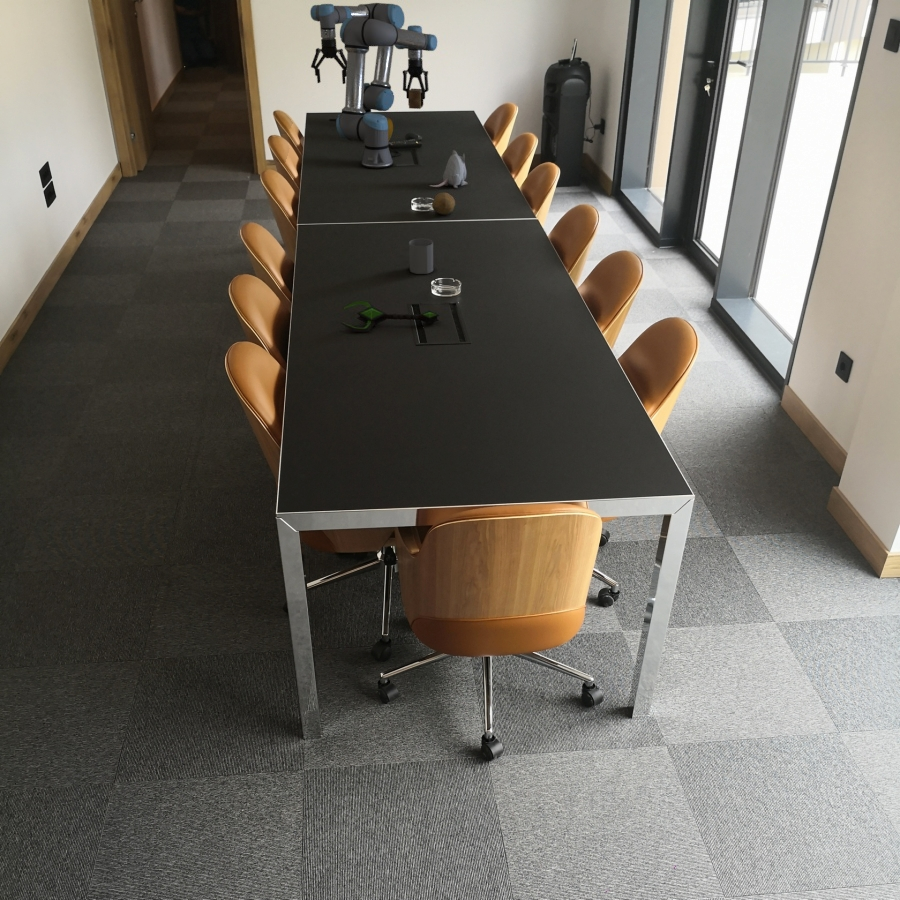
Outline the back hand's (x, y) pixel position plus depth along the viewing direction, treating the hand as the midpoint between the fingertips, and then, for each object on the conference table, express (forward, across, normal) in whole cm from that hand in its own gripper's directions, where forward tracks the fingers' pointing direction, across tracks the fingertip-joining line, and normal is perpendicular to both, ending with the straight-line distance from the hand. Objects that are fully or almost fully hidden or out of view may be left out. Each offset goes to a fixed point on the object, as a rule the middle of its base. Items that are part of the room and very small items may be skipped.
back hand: (331, 83), depth 451 cm
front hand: (+12, +41, +17) cm, 46 cm away
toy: (+30, +76, -73) cm, 110 cm away
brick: (+14, +41, +17) cm, 46 cm away
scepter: (+30, +88, -222) cm, 241 cm away
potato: (+30, +82, -110) cm, 140 cm away
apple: (+30, +25, +5) cm, 40 cm away
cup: (+30, +87, -175) cm, 198 cm away
